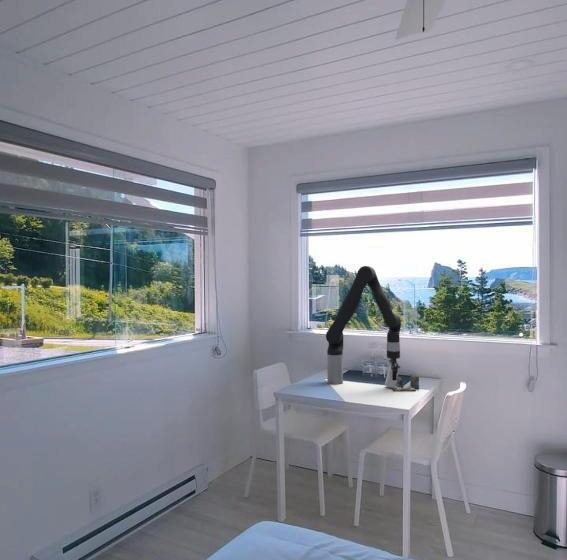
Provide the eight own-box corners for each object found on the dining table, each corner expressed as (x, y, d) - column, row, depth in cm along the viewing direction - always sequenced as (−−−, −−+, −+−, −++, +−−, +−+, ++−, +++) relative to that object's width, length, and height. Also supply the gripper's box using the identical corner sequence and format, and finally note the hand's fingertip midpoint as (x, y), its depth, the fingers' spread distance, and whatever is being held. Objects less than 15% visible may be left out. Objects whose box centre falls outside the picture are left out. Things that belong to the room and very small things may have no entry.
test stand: (393, 391, 270) (393, 378, 270) (389, 385, 283) (389, 374, 283) (421, 391, 269) (421, 378, 269) (415, 385, 282) (415, 373, 282)
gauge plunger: (402, 388, 271) (401, 381, 271) (397, 383, 283) (397, 376, 283) (404, 388, 271) (404, 381, 271) (399, 383, 283) (399, 376, 283)
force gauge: (386, 386, 277) (391, 364, 276) (384, 384, 282) (390, 362, 281) (398, 389, 276) (403, 367, 276) (396, 387, 281) (402, 365, 281)
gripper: (384, 347, 286) (384, 376, 286) (388, 351, 271) (389, 382, 272) (397, 347, 286) (397, 376, 286) (402, 351, 271) (402, 381, 271)
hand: (393, 379), depth 279 cm, fingers closed on force gauge, 5 cm apart
